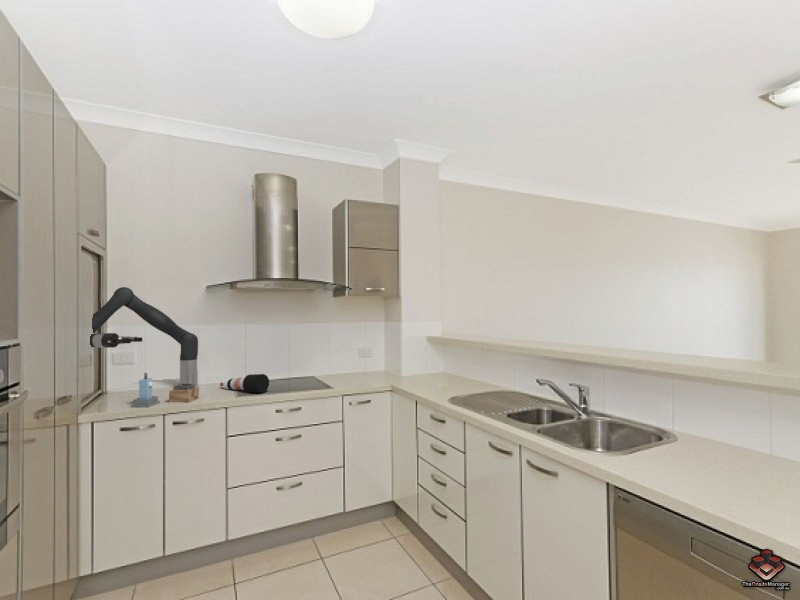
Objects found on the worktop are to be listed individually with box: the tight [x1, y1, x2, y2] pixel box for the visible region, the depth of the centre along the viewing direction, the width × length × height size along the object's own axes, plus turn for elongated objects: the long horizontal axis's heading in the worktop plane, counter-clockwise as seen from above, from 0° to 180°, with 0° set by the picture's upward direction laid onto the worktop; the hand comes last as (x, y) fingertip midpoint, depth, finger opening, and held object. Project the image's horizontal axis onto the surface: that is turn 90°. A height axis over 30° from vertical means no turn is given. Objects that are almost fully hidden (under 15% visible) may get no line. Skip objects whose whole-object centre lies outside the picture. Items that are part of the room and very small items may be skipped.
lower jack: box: [130, 395, 161, 408], centre depth 202 cm, size 9×9×4 cm
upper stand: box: [168, 383, 200, 404], centre depth 212 cm, size 10×10×8 cm
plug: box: [138, 372, 154, 399], centre depth 202 cm, size 4×5×15 cm
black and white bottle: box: [219, 373, 270, 393], centre depth 235 cm, size 10×34×10 cm, turn 63°
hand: (136, 340), depth 209 cm, fingers open, 8 cm apart
